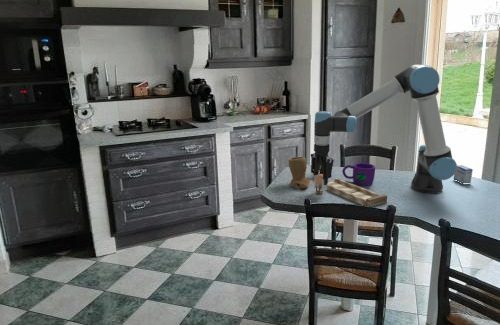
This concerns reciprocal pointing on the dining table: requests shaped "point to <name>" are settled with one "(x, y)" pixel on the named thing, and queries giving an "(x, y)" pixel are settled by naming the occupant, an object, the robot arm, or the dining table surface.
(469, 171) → the medicine box
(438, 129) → the robot arm
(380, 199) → the wooden compartment tray
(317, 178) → the ball
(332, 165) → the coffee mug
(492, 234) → the dining table surface
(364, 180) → the mug
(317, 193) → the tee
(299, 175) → the brown boot
